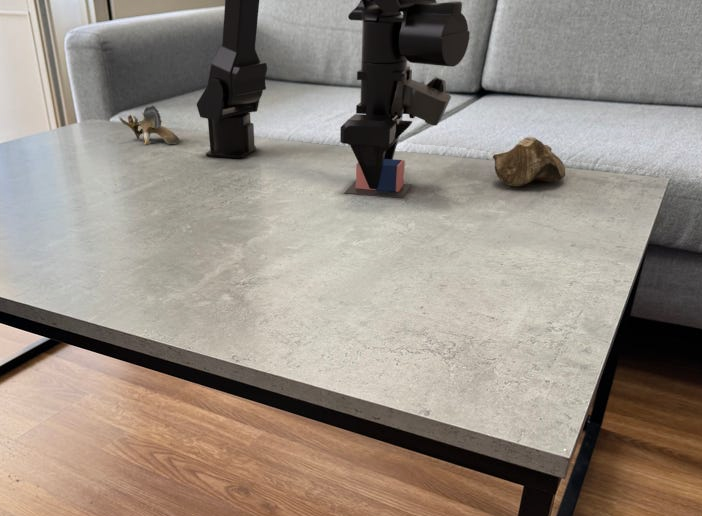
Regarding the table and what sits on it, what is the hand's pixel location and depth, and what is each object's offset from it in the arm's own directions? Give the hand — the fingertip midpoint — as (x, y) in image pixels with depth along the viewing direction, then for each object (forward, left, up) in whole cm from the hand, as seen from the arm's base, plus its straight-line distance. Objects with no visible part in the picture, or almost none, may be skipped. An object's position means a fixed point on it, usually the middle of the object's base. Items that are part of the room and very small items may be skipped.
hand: (379, 182), depth 96 cm
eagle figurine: (-45, +16, -1) cm, 48 cm away
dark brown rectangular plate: (0, -1, -1) cm, 1 cm away
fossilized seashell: (+19, +7, -1) cm, 20 cm away
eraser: (0, 0, -1) cm, 1 cm away
